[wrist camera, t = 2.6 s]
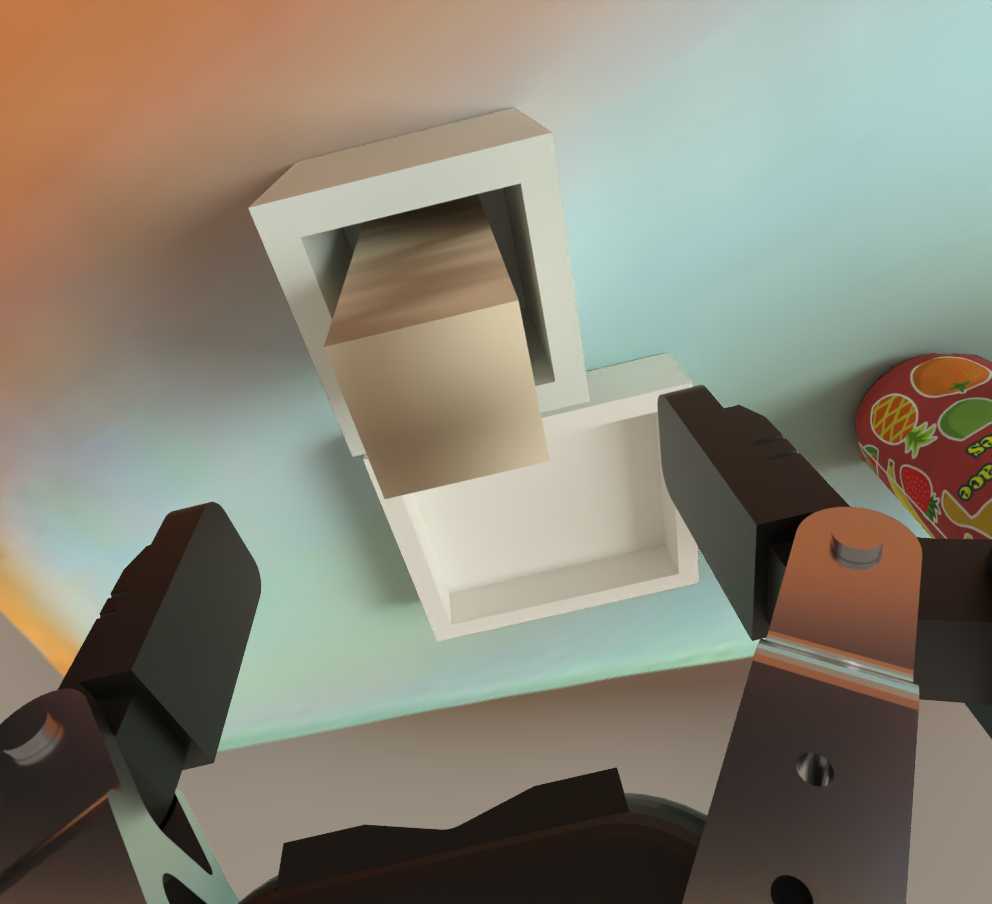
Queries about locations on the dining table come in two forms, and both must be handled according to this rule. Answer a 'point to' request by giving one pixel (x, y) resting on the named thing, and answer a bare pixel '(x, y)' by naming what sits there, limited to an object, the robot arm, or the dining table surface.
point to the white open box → (420, 183)
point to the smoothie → (934, 441)
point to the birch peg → (435, 351)
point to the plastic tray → (555, 516)
